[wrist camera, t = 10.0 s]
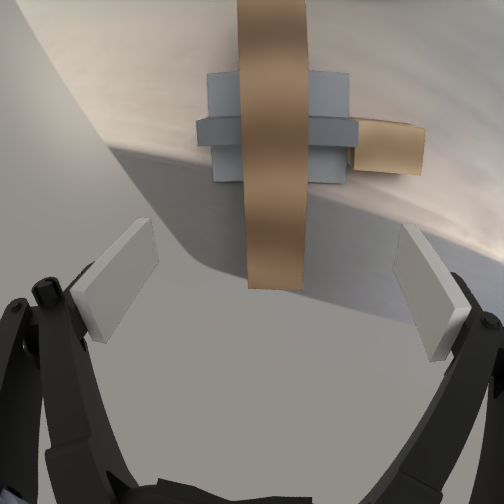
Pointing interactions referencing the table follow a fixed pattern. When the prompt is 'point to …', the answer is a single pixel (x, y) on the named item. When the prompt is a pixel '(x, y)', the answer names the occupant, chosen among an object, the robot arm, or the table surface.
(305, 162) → the walnut bar
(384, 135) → the block
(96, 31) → the table surface
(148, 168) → the table surface
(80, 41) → the table surface
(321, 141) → the fulcrum
